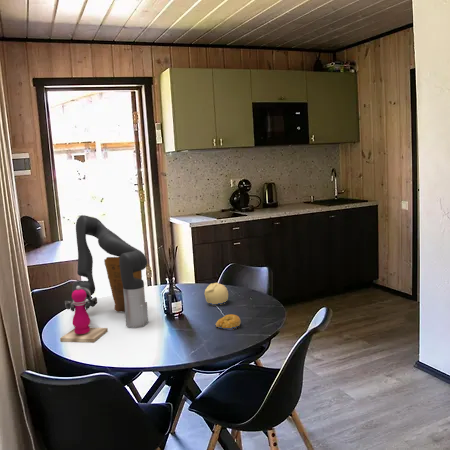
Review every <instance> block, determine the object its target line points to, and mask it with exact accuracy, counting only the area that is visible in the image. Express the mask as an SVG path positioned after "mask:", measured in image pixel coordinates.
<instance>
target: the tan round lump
mask: <svg viewBox="0 0 450 450" xmlns="http://www.w3.org/2000/svg"><path fill="white" fill-rule="evenodd" d="M204 298H205V301H206V303H208V304H209V303H212V304H218V303H223V302H226V301H227V302H228V299H229V291H228V288H227V287H226V286H225V285H224V284H223V283H222V284H221V283H218V282H213V283H210V284H208V286H207V287H206V288H205V290H204ZM227 302H226V303H227Z"/></svg>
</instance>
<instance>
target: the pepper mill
mask: <svg viewBox="0 0 450 450" xmlns="http://www.w3.org/2000/svg"><path fill="white" fill-rule="evenodd" d="M76 289H77V290H75V291H73V290H72V292H71V300H74V302H73V303H74V305H75V310H74V315H73V317H72V326H74V328H73V329H74V331H75V333H76V334H85V333H87V332H89V331H90V328H91V327H90V324H91V318H90V316H89V313H88V312H87V310H86V307H85V304H86V300H85V298H86V296H87V295H86V292H85V291H84V290H83V289H81V287H80V286H77V287H76Z"/></svg>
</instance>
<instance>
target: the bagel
mask: <svg viewBox="0 0 450 450" xmlns="http://www.w3.org/2000/svg"><path fill="white" fill-rule="evenodd" d="M241 323H242V321H241V318H240V316H238V315H237V314H231V313H230V314H226V315H224V316H223V317H220V318H219V319H218V320H217V321H216V322H215V325H216V326H215V327H216V328H217V327H222V328H232V327H236V326H239V327H240V325H241Z"/></svg>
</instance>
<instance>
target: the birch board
mask: <svg viewBox="0 0 450 450" xmlns="http://www.w3.org/2000/svg"><path fill="white" fill-rule="evenodd" d="M108 332H109V329H108V327H90V331H89V332H87V333H85V334H76V333H75V331H74V328H73V329H71V330H70V331H68V332H67V333H65V334H64V335H63V336H61V337H60V342H63V343H65V342H66V343H67V342H68V343H69V342H70V343H96V342H97V340H99V339H100V338H101V337H103V336H104V335H105V334H107V333H108Z"/></svg>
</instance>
